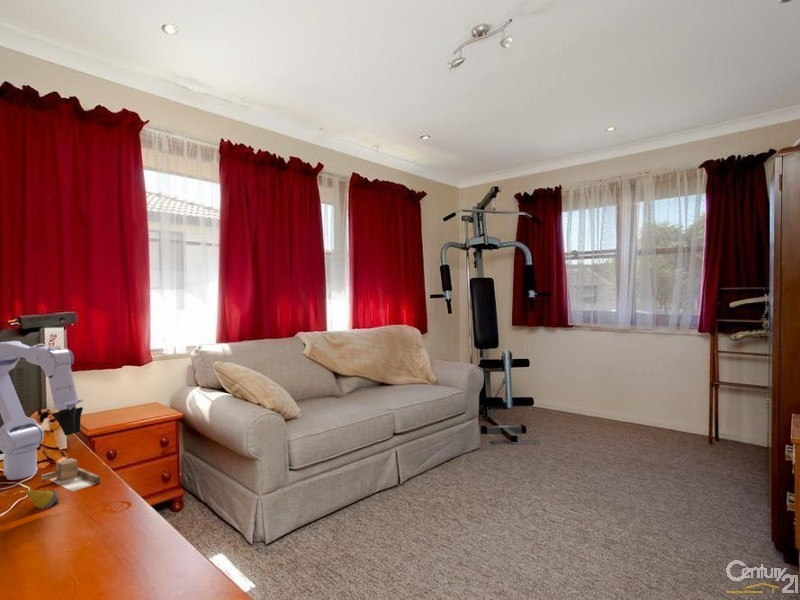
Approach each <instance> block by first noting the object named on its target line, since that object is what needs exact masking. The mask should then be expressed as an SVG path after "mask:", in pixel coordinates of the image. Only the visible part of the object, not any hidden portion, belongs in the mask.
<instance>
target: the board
mask: <svg viewBox="0 0 800 600" xmlns="http://www.w3.org/2000/svg"><path fill="white" fill-rule="evenodd" d="M49 481H50V482H53V483H55V484H56V485H58V486H61V487H63V488H65V489H66V490H68V491H70V492H71V493H72V492H76V491H79V490H82V489H85V488H88V487H91V486H95V485H97V484H100V483H101V476H100V475H98V474H96V473H93V472H91V471H88V470H86V469H84V468H82V467H80V466H78V477H75V478H72V479H68V480H65V481H61V480H59V479H57V477H52V478H49Z"/></svg>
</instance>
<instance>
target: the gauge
mask: <svg viewBox="0 0 800 600" xmlns="http://www.w3.org/2000/svg"><path fill="white" fill-rule="evenodd" d="M55 464H56V470H53V471H51V472H47V473H43V474H41V475H40V479H41V480H42V483H43V484H44V483H46V480H47V479H53V478H57V479H59V480H61V481H65V480H68V479H72V478H75V477H78V467H79V466H78V465H79V464H78V460H77V459H75V458H72V457H70V458H66V459H63V460H60V461H56V463H55Z"/></svg>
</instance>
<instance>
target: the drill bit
mask: <svg viewBox="0 0 800 600" xmlns="http://www.w3.org/2000/svg"><path fill="white" fill-rule="evenodd" d="M23 492H24V493H25V495H26V496H27V497H28V498H29V500H30V501H31V502H32V503H33V505H34V506H35V508H36V509H44V510H42V511H40V512H45V511H46V510H45V509H47V508H51V507H52V506H53V505H54V504H56V503H58V502H59V501H60V500H61V499H60V498H58V494H59V493H58V491H57V490H55V489H49V490H35V489H34V490H32V489H31V490H29V489H26V490H25V489H24V490H23Z"/></svg>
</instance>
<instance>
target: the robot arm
mask: <svg viewBox="0 0 800 600" xmlns="http://www.w3.org/2000/svg"><path fill="white" fill-rule="evenodd" d="M20 358H24V359H25V360H26V362H27V363H30V364H32V365H37V366H40V368H41V370H42V371H43V372H44V375H45V377H47V378H48V382H49V383H48V384H49V388H50V393H51V396H52V401H53V410H57V411H56V412H52V413H51V417H53V418H54V419H55V420H56V422H57V423H58V424H59V426H60V428H61V430H62V432H63V434H64V436H69V435H74V434H77V433H80V432H81V420H82V419H81V418H82V414H83V413H82V412H83V409H84V408H83V406H81V407H78V406H77V404H80V403H82V402H84V399H82V398H81V399H78V393H77V390H76V385H75V382H74V381H75V380H74V376H73V371H72V368H71V367H72V365H74V359H75V357H74V354H73V352H72V350H70V349H68V348H62V349H56V348H55V347H54V346H49V347H48V346H45V344H44V343H36V344H35V345H31V346H29V345H27V344H24V343H22V342H21V340H20V341H19V340H18V341H17V340H11V341H2V342H0V416H1V419H2V421H3V424H2V425H1V427H0V452H2V454H4V456H3V458H2V459H3V460H2V461H3V462H2V463H3V465H2V466H3V476H5V477H6V480H8V481H9V480H11V481H15V480H22V479H25V478H29V477H32V476H34V475H36V474H37V473H38V457H37V456H38V453H37V452H38V451H37V450H38V449H37V448H40V444H41V443H42V442H43V440H44V437H45V432H44V428H43V427H41V425H40V424H39V423H38V421H37V419H34V418H32V417H28V416H26V414H25V412H24V409H23V406H22V404H21V402H20V399H19V397H18V394H17V391H16V389H15V387H14V384H13V381H12V380H11V379H12V378H11V376H10V375H9V373H10V371H12V370H13V369H14V368H16V366H17V363H18V362H19V360H20Z"/></svg>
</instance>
